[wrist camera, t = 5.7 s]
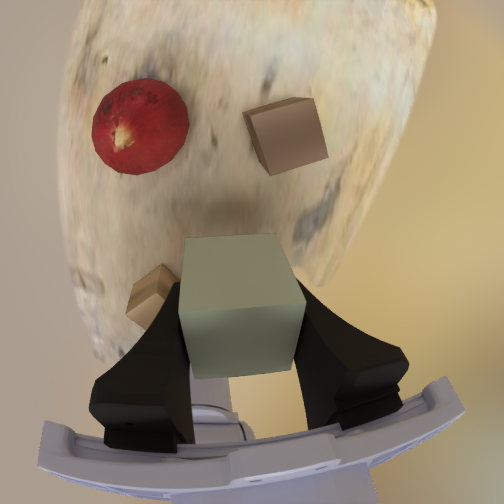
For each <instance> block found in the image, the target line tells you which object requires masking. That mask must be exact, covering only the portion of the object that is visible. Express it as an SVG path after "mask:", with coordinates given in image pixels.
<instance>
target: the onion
mask: <svg viewBox="0 0 504 504" xmlns="http://www.w3.org/2000/svg"><path fill="white" fill-rule="evenodd" d="M188 129H189V119H188V112H187V107H186V105H185V103H184V102H183V100H182V99H181V97H180V95H179V94H178V92H176V91H175V90H174V89H173V88H171V87H170V86H169V85H167V84H166V83H165V82H162V81H157V80H152V79H147V78H144V79H138V80H134V81H129V82H125V83H122V84H120V85H119V86H118V87H116V88H115V89H114V90H112V91H111V92H110V93H108V94H107V95H106V96H104V98H103V99H102V101H101V103H100V105H99V107H98V109H97V111H96V113H95V115H94V117H93V125H92V140H93V143H94V147H95V151H96V152H97V154H98V155H99V156H100V158H101V159H102V160H103V162H104V163H105V164H106V165H108V166H109V167H111V168H112V169H114V170H115V171H117V172H118V173H125V174H132V175H140V174H144V173H148V172H152V171H155V170H157V169H159V168H160V167H162V166H163V165H165V164H166V163H168V162H169V161H171V160H172V159H173V158H174V156H175V155H176V154H177V152H178V151H179V150H180V149H181V147H182V146H183V145H184V142H185V139H186V135H187V132H188Z"/></svg>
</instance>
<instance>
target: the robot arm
mask: <svg viewBox="0 0 504 504" xmlns="http://www.w3.org/2000/svg"><path fill="white" fill-rule="evenodd" d="M296 280H297V282H298V284H299V286H300V288H301V291H302V293H303V295H304V297H305V300H306V306H305V311H304V316H303V320H302V325H301V329H300V333H299V338H298V342H297V346H296V350H295V354H294V358H293V359H294V362H295V365H296V369H297V373H298V377H299V382H300V386H301V391H302V396H303V401H304V406H305V412H306V418H307V424H308V431H304V432H298V433H294V434H288V435H282V436H276V437H271V438H264V439H255V436H254V432H253V431H252V429H251V428H250V427H249V426H248V425H247V423H246V422H244V421H239V419H238V413H237V412H232V405H231V397H230V390H229V382H228V377H227V378H212V379H194V375H193V371H192V367H191V364H190V360H189V356H188V352H187V348H186V344H185V339H184V335H183V331H182V326H181V322H180V317H179V313H178V311H179V297H180V285H181V282H174V283H173V285H172V287H171V289H170V291H169V294H168V296H167V297H166V299H165V301H164V303H163V305H162V307H161V308H160V310H159V312H158V314H157V315H156V317H155V318H154V320H153V321H152V323H151V324H150V326H149V327H148V329H147V330H146V332H145V333H144V334H143V335H142V337H141V338H140V339H139V341H138V342H137V343H136V344H135V345H134V346H133V347H132V349H131V350H130V351H129V352H128V353H127V354H126V355H125V356H124V357H123V358H122V359H121V360H120V361H119V362H117V363H116V364H115V365H114V366H113V367H112V368H111V369H110V370H108V371H107V372H106V373H104V374H103V375H102V376H100V377H99V378H98V379H97V380H95V384H94V386H93V389H92V393H91V398H90V404H89V411H90V413H91V414H92V416H93V417H94V418H96V420H97V421H98V422H100V423H101V424H102V425H103V426H104V427H105V432H104V438H99V437H93V436H88V435H83V434H78V433H75V431H73V430H72V429H71V428H69V427H67V426H65V425H62V424H58V423H54V422H50V421H44V426H43V432H42V437H41V443H40V449H39V456H38V464H37V466H38V467H39V468H40V469H42V470H44V471H46V472H48V473H51V474H53V475H55V476H57V477H59V478H61V479H64V480H66V481H69V482H72V483H76V484H79V485H82V486H86V487H90V488H94V489H98V490H102V491H106V492H111V493H116V494H121V495H126V496H132V497H138V498H145V499H153V500H163V501H169V502H171V503H172V504H380V502H379V498H378V495H377V492H376V489H375V487H374V484H373V481H372V478H371V475H370V472H369V468H372V467H374V466H377V465H379V464H381V463H383V462H385V461H388V460H389V459H392V458H394V457H396V456H398V455H400V454H402V453H404V452H406V451H408V450H409V449H412V448H413V447H415V446H417V445H419V444H421V443H423V442H424V441H426V440H428V439H430V438H431V437H433V436H435V435H436V434H438V433H440V432H441V431H442V430H444V429H445V428H446V427H448V426H449V425H450V424H451V423H453V422H454V421H455V420H456V419H458V418H459V417H460V416H461V415H462V414H464V413H465V412H466V410H465V408H464V406H463V404H462V402H461V400H460V399H459V397H458V395H457V393H456V392H455V390H454V388H453V386H452V385H451V383H450V381H449V380H448V378H447V376H443V377H441V378H439V379H437V380H435V381H433V382H431V383H430V384H429V385H427V386H426V387H425V388H424V389H423V391H422V392H421V393H419V394H417V395H414V396H412V397H410V398H408V399H405V400H403V401H401V399H400V397H399V395H398V392H399V391H400V388H399V386H398V385H397V383H398V382H399V381H400V380H401V379H402V377H403V376H404V375H405V373H406V372H407V370H408V367H409V362H408V360H407V358H406V357H405V355H404V353H403V352H402V350H401V349H400V347H397V346H394V345H391V344H388V343H386V342H383V341H381V340H379V339H376V338H374V337H372V336H370V335H368V334H366V333H364V332H362V331H360V330H359V329H357V328H355V327H354V326H352V325H350V324H349V323H347V322H346V321H344V320H343V319H342V318H340V317H339V316H337V315H336V314H334V313H333V312H332V311H331V310H330V309H328V308H327V307H326V306H325V305H323V304H322V303H321V302H320V301H319V300H318V299H317V298H316V297H315V296H314V295H312V293H310V291H309V290H307V288H305V286H304V285H303V284H302V283H301V282H300V281H299V280H298V279H297V278H296Z"/></svg>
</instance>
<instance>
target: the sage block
mask: <svg viewBox="0 0 504 504" xmlns="http://www.w3.org/2000/svg"><path fill="white" fill-rule="evenodd" d="M305 306H306V300H305V297H304V295H303V293H302V291H301V288H300V286H299V284H298V282H297V280H296V277H295V275H294V273H293V271H292V268H291V266H290V264H289V262H288V260H287V258H286V255H285V253H284V251H283V249H282V247H281V245H280V242H279V240H278V238H277V236H276V234H275V233H272V234H250V235H231V236H212V237H195V238H185V246H184V255H183V264H182V275H181V285H180V297H179V311H178V313H179V317H180V322H181V326H182V331H183V335H184V339H185V344H186V348H187V352H188V356H189V360H190V364H191V367H192V371H193V375H194V379H212V378H227V377H238V376H248V375H257V374H266V373H273V372H280V371H287V370H291V366H292V362H293V358H294V354H295V350H296V346H297V342H298V338H299V333H300V329H301V325H302V320H303V316H304V311H305Z"/></svg>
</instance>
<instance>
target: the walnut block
mask: <svg viewBox="0 0 504 504" xmlns="http://www.w3.org/2000/svg"><path fill="white" fill-rule="evenodd" d="M242 114H243V117H244V119H245V122H246V125H247V128H248V131H249V133H250V136H251V139H252V142H253V145H254V148H255V151H256V154H257V156H258V159H259V162H260V163H261V165H262V166H263V167H264V169H265V170H266V171H267V173H268V174H269V175H270V176H273V175H276V174H279V173H282V172H285V171H288V170H291V169H294V168H297V167H300V166H303V165H307V164H310V163H313V162H316V161H319V160H323V159H326V158H329V157H328V153H327V148H326V144H325V140H324V136H323V132H322V128H321V124H320V120H319V117H318V113H317V109H316V106H315V102H314V99H313V98H295V97H294V98H290V99H286V100H283V101H279V102H275V103H272V104H268V105H265V106H262V107H258V108H255V109H252V110H249V111H246V112H243V113H242Z"/></svg>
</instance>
